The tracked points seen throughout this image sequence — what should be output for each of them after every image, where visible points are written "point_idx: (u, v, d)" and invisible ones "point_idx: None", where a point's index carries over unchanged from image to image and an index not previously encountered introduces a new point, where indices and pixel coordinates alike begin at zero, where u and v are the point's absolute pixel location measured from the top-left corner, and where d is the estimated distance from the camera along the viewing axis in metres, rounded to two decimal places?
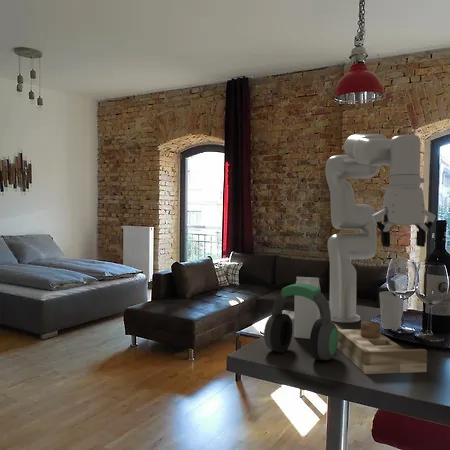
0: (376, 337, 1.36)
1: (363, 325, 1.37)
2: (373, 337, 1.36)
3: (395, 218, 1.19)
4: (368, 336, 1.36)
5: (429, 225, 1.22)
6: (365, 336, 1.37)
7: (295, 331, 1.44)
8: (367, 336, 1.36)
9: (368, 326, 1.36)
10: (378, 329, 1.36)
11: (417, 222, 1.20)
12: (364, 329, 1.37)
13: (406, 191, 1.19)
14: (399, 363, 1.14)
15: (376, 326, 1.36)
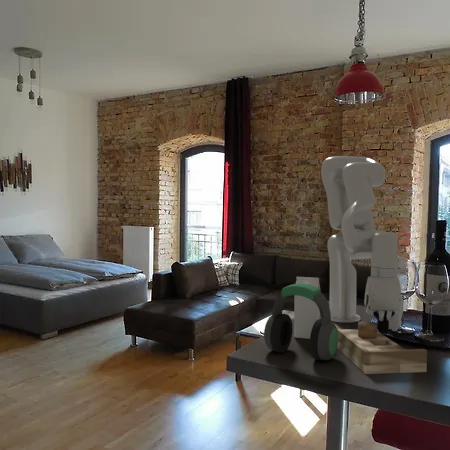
0: (373, 337, 1.36)
1: (360, 325, 1.37)
2: (370, 337, 1.35)
3: (375, 305, 1.36)
4: (365, 336, 1.36)
5: (392, 314, 1.38)
6: (362, 336, 1.36)
7: (295, 331, 1.44)
8: (364, 336, 1.36)
9: (365, 326, 1.36)
10: (375, 329, 1.36)
11: (394, 309, 1.37)
12: (361, 329, 1.37)
13: (385, 282, 1.35)
14: (399, 363, 1.14)
15: (373, 326, 1.36)
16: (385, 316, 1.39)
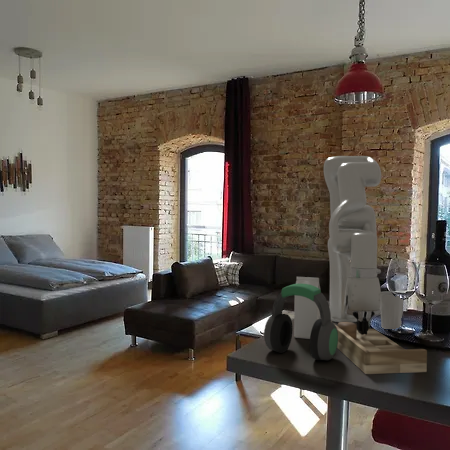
0: None
1: (340, 326, 1.36)
2: None
3: (355, 306, 1.35)
4: None
5: (371, 315, 1.37)
6: None
7: (295, 331, 1.44)
8: None
9: (344, 327, 1.35)
10: (354, 330, 1.35)
11: (374, 309, 1.36)
12: None
13: (364, 283, 1.35)
14: (399, 363, 1.14)
15: (352, 327, 1.35)
16: (365, 316, 1.38)
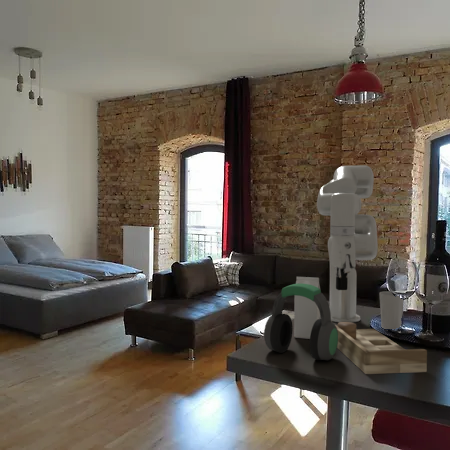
0: None
1: (339, 326, 1.36)
2: None
3: (332, 260, 1.47)
4: None
5: (342, 273, 1.42)
6: None
7: (295, 331, 1.44)
8: None
9: (344, 327, 1.35)
10: (354, 330, 1.35)
11: (338, 266, 1.41)
12: None
13: (333, 239, 1.45)
14: (399, 363, 1.14)
15: (352, 327, 1.35)
16: None
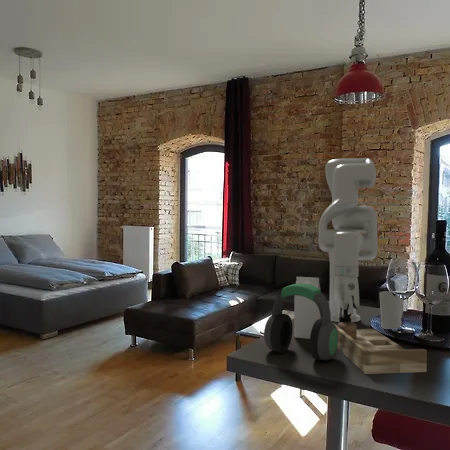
0: None
1: (339, 326, 1.36)
2: None
3: (335, 299, 1.45)
4: None
5: (345, 313, 1.39)
6: None
7: (295, 331, 1.44)
8: None
9: (344, 327, 1.35)
10: (354, 330, 1.35)
11: (342, 307, 1.39)
12: None
13: (337, 279, 1.42)
14: (399, 363, 1.14)
15: (352, 327, 1.34)
16: None
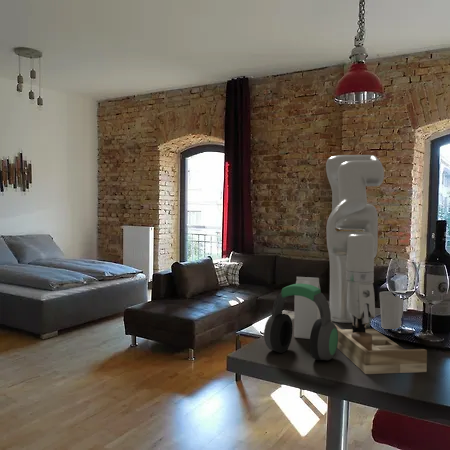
0: (368, 350, 1.24)
1: (354, 337, 1.25)
2: None
3: (347, 307, 1.34)
4: None
5: (359, 323, 1.28)
6: None
7: (295, 331, 1.44)
8: None
9: (359, 338, 1.23)
10: (370, 341, 1.24)
11: (356, 316, 1.28)
12: None
13: (350, 285, 1.31)
14: (399, 363, 1.14)
15: (368, 338, 1.23)
16: None
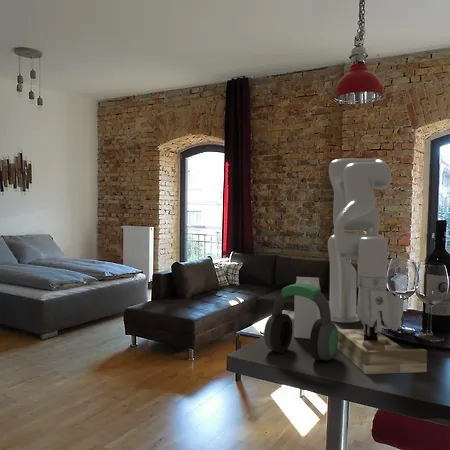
0: None
1: (364, 346, 1.17)
2: None
3: (358, 314, 1.26)
4: None
5: (371, 331, 1.20)
6: None
7: (295, 331, 1.44)
8: None
9: (370, 347, 1.16)
10: None
11: (368, 324, 1.20)
12: None
13: (361, 291, 1.23)
14: (399, 363, 1.14)
15: (380, 347, 1.16)
16: None
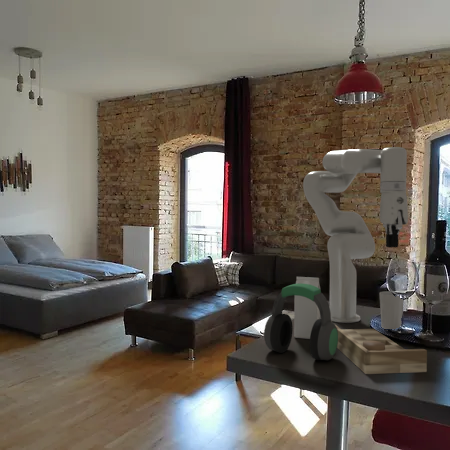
0: None
1: (365, 346, 1.17)
2: None
3: (381, 218, 1.44)
4: None
5: (393, 229, 1.39)
6: None
7: (295, 331, 1.44)
8: None
9: (370, 347, 1.16)
10: None
11: (390, 223, 1.38)
12: None
13: (384, 196, 1.41)
14: (399, 363, 1.14)
15: (380, 348, 1.15)
16: None
